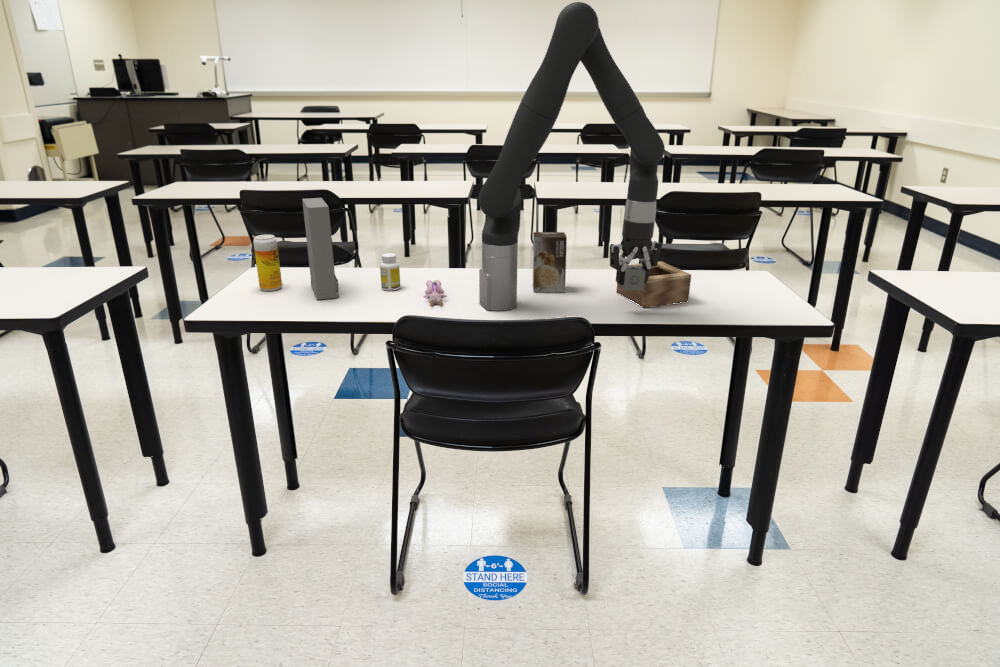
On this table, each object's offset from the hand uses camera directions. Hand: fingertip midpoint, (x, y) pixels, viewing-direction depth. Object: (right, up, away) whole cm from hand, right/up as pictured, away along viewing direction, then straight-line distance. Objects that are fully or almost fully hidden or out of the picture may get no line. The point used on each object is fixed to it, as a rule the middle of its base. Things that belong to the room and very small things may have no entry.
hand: (631, 283), depth 164 cm
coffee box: (-20, 0, +20) cm, 28 cm away
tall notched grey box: (-83, -1, +17) cm, 84 cm away
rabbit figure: (-51, -3, +12) cm, 53 cm away
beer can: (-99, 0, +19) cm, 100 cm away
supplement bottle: (-65, 0, +20) cm, 68 cm away
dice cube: (0, -1, 0) cm, 1 cm away
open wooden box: (+8, -3, +14) cm, 17 cm away
